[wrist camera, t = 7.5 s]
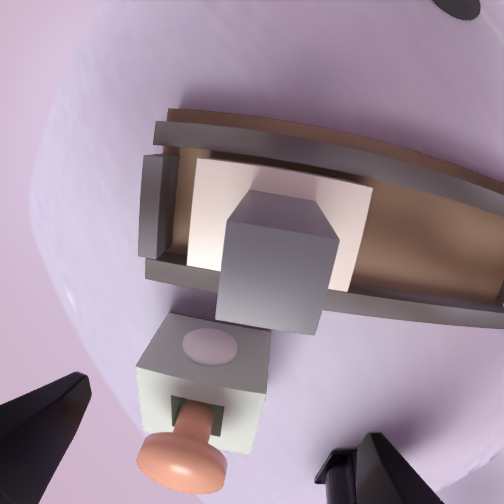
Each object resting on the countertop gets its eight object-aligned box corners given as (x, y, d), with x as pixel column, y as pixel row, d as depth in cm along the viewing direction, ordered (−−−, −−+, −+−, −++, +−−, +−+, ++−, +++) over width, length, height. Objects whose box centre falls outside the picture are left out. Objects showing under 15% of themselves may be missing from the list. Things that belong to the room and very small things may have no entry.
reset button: (231, 439, 17) (220, 500, 13) (163, 424, 17) (141, 480, 13) (240, 394, 16) (227, 464, 11) (161, 377, 16) (131, 440, 11)
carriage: (340, 276, 17) (377, 369, 9) (196, 252, 17) (138, 331, 10) (362, 183, 15) (431, 217, 8) (207, 156, 15) (141, 168, 8)
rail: (483, 318, 19) (508, 346, 15) (162, 271, 20) (138, 299, 16) (522, 194, 16) (558, 206, 12) (177, 111, 16) (150, 103, 13)
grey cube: (256, 393, 22) (249, 454, 17) (168, 375, 23) (143, 431, 17) (271, 326, 20) (267, 388, 15) (168, 307, 21) (134, 360, 15)
